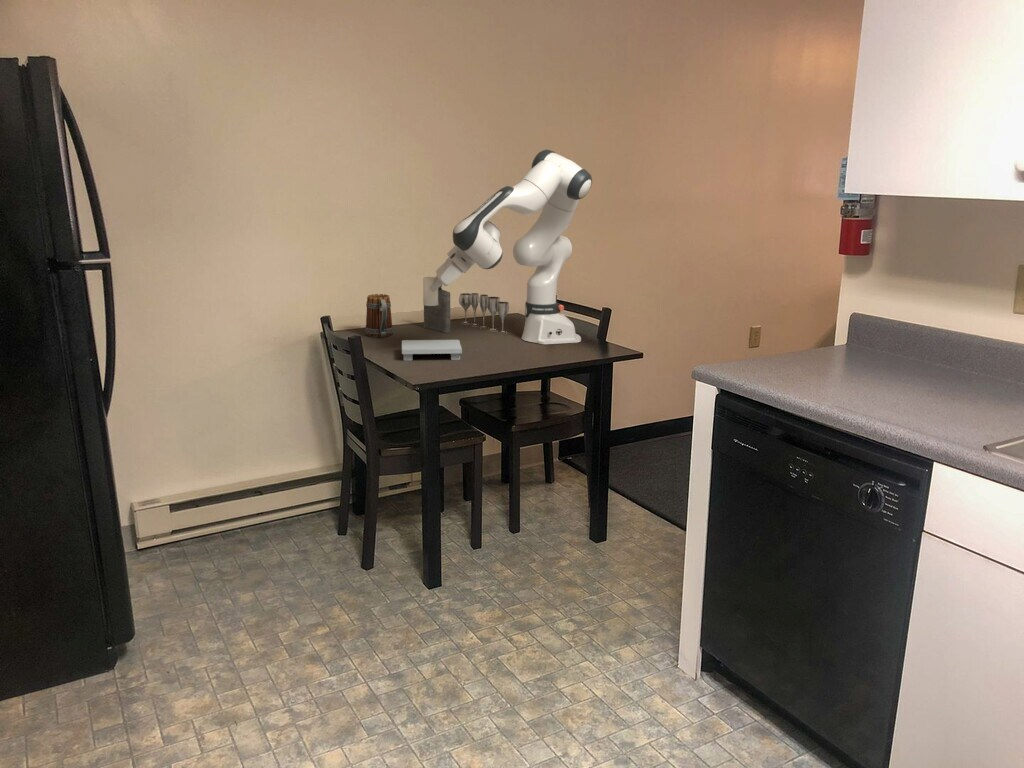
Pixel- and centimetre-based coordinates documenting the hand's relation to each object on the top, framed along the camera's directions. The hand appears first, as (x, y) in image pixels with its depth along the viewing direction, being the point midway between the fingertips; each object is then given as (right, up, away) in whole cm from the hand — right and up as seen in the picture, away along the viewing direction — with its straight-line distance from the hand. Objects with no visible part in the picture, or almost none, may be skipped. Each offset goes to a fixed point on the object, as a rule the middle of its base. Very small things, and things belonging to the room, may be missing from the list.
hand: (430, 288), depth 271 cm
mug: (-22, -14, +35) cm, 44 cm away
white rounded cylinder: (0, -5, +2) cm, 5 cm away
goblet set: (+16, -10, +53) cm, 56 cm away
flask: (-2, -11, +47) cm, 48 cm away
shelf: (0, -22, +7) cm, 23 cm away
